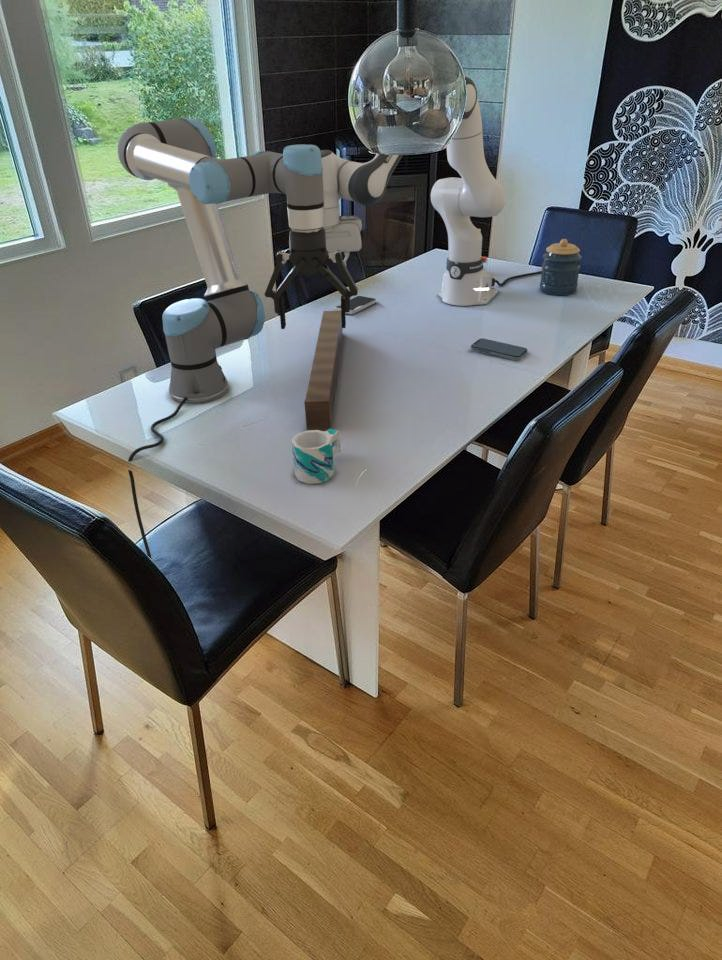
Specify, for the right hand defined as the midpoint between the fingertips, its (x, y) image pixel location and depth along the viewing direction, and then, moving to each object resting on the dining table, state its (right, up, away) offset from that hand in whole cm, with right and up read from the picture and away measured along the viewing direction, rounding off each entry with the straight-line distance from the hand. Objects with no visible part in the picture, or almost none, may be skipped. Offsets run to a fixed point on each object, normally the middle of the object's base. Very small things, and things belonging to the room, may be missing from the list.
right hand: (327, 267), depth 191 cm
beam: (0, -32, -8) cm, 33 cm away
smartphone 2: (+49, -24, +2) cm, 55 cm away
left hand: (-1, -26, -40) cm, 48 cm away
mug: (+1, -58, -48) cm, 76 cm away
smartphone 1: (+8, -1, +40) cm, 41 cm away
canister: (+80, +7, +48) cm, 93 cm away
